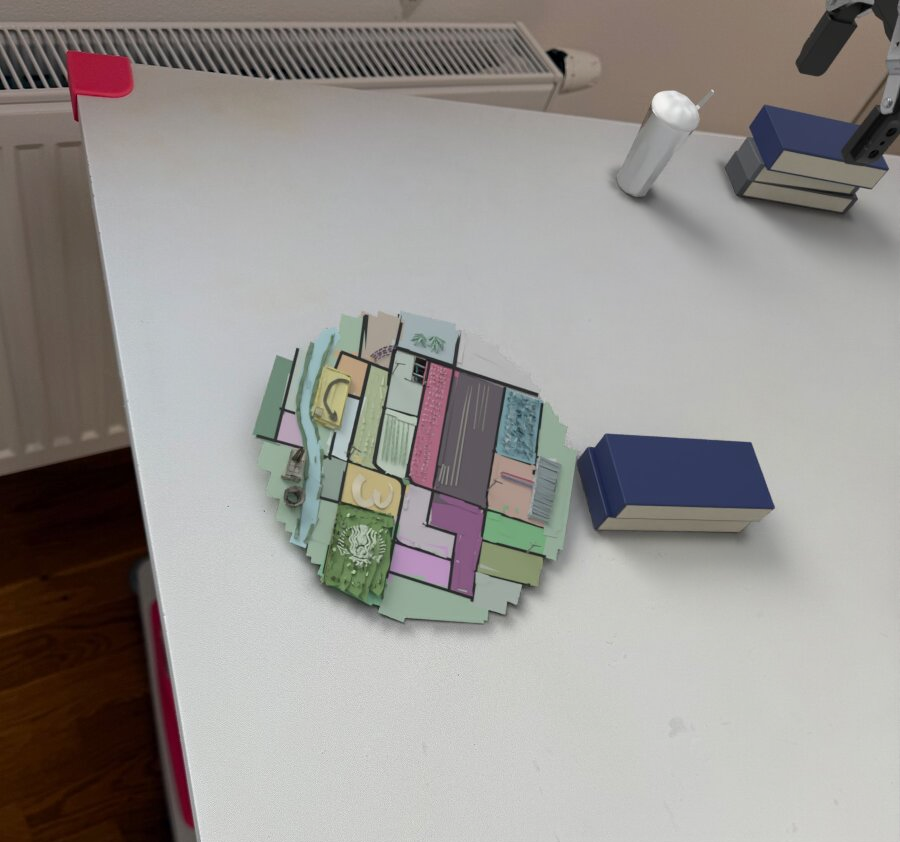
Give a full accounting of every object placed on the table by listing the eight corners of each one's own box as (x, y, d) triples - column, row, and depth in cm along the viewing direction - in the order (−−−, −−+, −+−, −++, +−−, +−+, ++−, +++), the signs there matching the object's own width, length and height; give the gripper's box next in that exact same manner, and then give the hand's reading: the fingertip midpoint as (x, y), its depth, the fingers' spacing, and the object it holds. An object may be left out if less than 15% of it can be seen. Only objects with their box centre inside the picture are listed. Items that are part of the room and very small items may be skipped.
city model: (257, 656, 60) (278, 626, 55) (204, 329, 66) (218, 274, 61) (597, 620, 70) (642, 591, 65) (523, 340, 77) (559, 293, 71)
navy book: (851, 148, 100) (868, 126, 98) (871, 190, 98) (889, 169, 96) (748, 127, 96) (764, 103, 93) (767, 171, 93) (783, 148, 91)
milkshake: (667, 200, 92) (726, 109, 84) (624, 204, 90) (680, 111, 82) (645, 166, 94) (700, 73, 85) (602, 168, 91) (655, 73, 83)
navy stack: (722, 468, 78) (751, 439, 75) (745, 535, 76) (775, 508, 72) (575, 461, 73) (599, 430, 70) (595, 533, 71) (620, 504, 68)
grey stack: (832, 184, 103) (857, 153, 100) (846, 216, 102) (872, 185, 98) (722, 164, 98) (745, 131, 95) (735, 197, 96) (759, 164, 93)
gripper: (1143, -56, 48) (913, 200, 62) (1021, -215, 54) (836, 52, 68) (1035, -89, 46) (820, 187, 59) (919, -252, 52) (747, 33, 65)
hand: (829, 115), depth 64 cm, fingers open, 8 cm apart
